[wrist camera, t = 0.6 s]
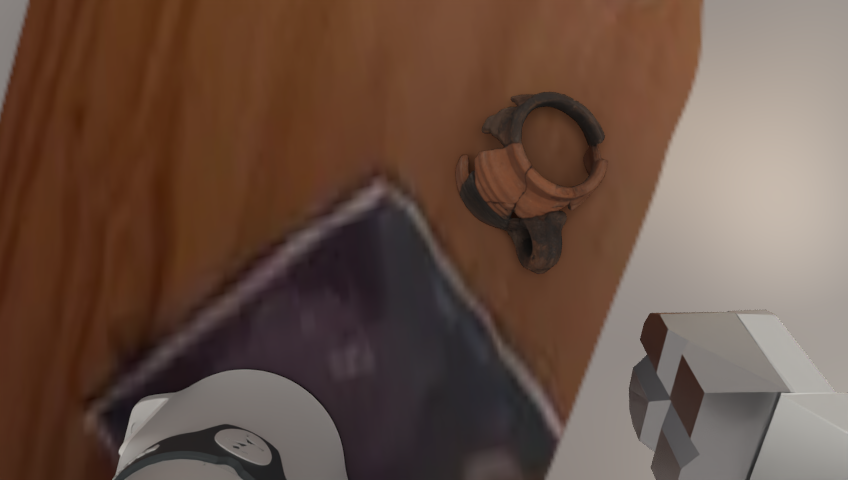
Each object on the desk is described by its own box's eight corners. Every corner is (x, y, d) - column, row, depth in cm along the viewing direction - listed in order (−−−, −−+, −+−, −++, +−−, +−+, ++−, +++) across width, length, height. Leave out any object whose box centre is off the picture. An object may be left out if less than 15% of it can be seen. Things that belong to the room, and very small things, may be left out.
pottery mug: (434, 128, 59) (484, 81, 51) (546, 122, 62) (607, 77, 55) (467, 291, 57) (523, 266, 49) (580, 274, 60) (649, 249, 53)
